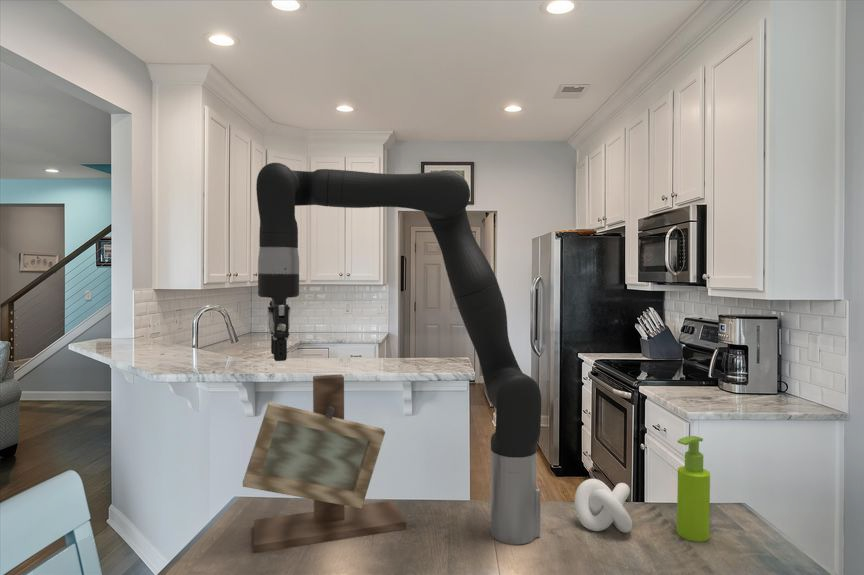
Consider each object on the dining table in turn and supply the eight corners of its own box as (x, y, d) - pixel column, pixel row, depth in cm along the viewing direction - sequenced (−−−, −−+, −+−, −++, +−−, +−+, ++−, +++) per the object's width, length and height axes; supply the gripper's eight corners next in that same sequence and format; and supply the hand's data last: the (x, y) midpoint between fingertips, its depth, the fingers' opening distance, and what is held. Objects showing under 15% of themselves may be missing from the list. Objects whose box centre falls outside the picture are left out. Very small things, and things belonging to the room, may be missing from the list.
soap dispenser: (667, 532, 110) (668, 435, 109) (689, 525, 113) (691, 431, 113) (692, 545, 105) (694, 444, 104) (715, 537, 108) (717, 439, 107)
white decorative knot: (650, 537, 108) (651, 493, 108) (598, 545, 105) (599, 500, 105) (616, 513, 119) (616, 473, 119) (568, 519, 116) (568, 478, 115)
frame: (359, 503, 112) (385, 419, 113) (361, 508, 109) (388, 422, 111) (242, 481, 104) (271, 392, 105) (242, 486, 102) (272, 394, 103)
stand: (393, 506, 122) (392, 368, 121) (406, 528, 111) (406, 377, 111) (253, 526, 112) (252, 376, 111) (254, 552, 102) (252, 387, 101)
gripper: (303, 272, 96) (303, 362, 97) (295, 272, 110) (295, 351, 110) (259, 271, 94) (259, 364, 94) (256, 271, 107) (256, 352, 107)
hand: (278, 357), depth 102 cm, fingers open, 8 cm apart
